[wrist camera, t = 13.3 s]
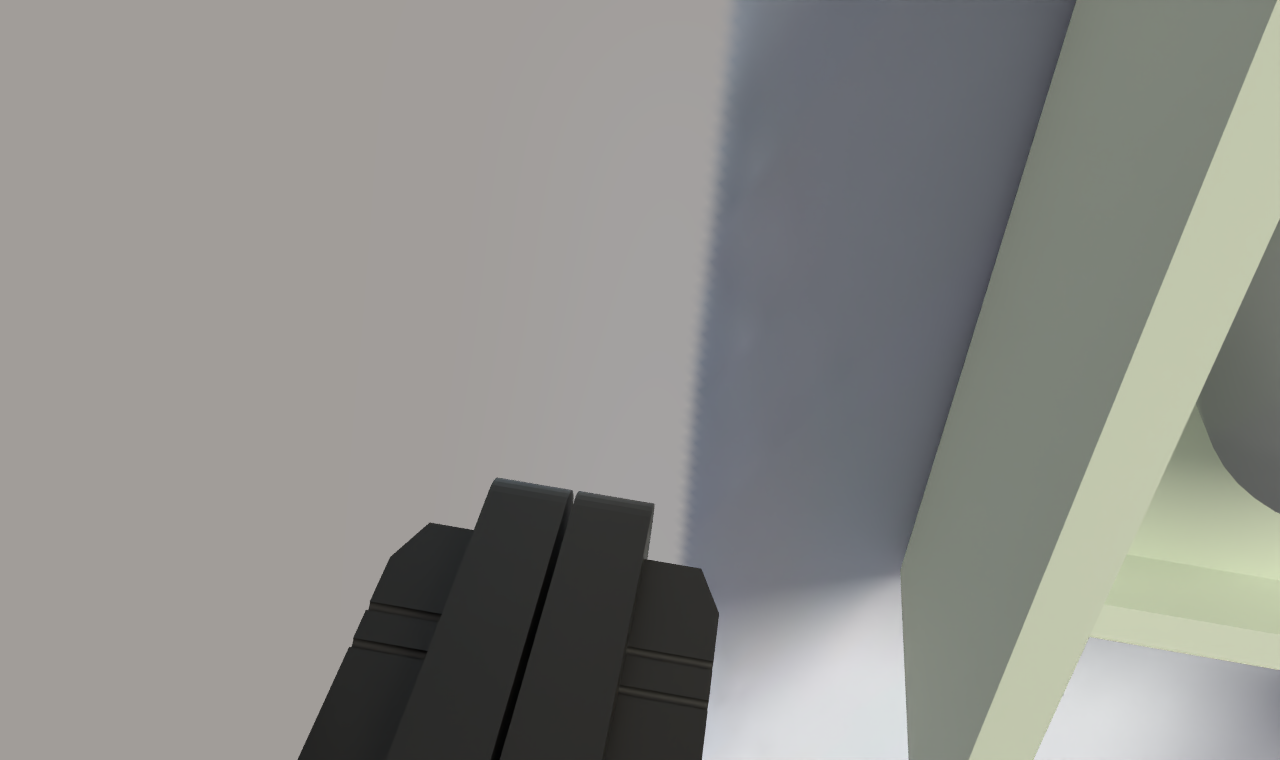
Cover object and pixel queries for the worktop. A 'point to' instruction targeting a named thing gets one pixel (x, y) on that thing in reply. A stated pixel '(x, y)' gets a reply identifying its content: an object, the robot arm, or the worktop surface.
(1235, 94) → the tray
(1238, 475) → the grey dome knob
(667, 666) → the robot arm
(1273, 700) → the worktop surface
